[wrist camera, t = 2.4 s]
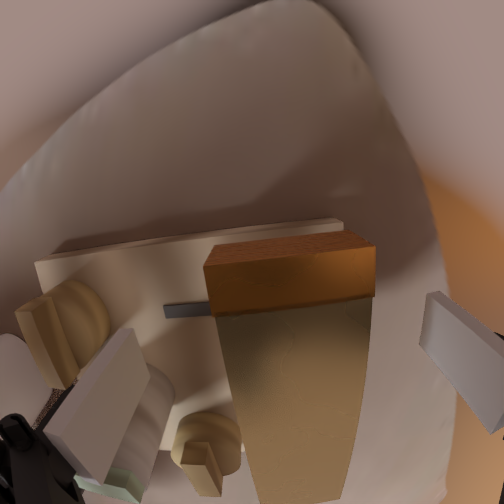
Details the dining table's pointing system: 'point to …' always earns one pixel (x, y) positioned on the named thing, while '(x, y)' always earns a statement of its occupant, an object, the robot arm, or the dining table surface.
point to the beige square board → (149, 347)
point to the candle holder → (20, 381)
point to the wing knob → (295, 355)
